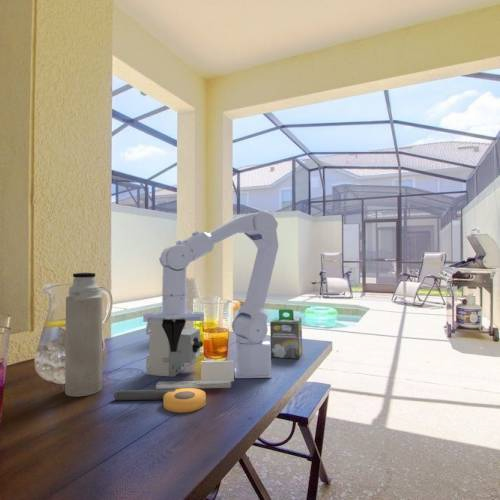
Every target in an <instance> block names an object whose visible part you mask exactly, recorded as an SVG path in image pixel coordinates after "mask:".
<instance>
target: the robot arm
mask: <svg viewBox="0 0 500 500" xmlns="http://www.w3.org/2000/svg"><path fill="white" fill-rule="evenodd" d="M278 225H279V224H278V221H277V220H276V218H275V216H274V214H273V213H271V212H270V211H269V210H260V211H258V212H252V213H246V214H244V215H241V216H238V217H235V218H233V219H231V220H229V221H227V222H226V223H224V224H222V225H220V226H219V227H216V228H215V229H213V230H212V231H210V232H205V231H199V230H197V231H193V232H192V233H191V236H189V237H187V238H186V239H183V240H177V241H175V245H173V246H168V247H167V246H166V247H165V248H164V249H163V250H162V252H161V254H160V257H159V263H160V265H161V266H162V286H161V288H162V289H161V290H162V291H161V292H162V296H161V297H162V305H161V306H162V308H161V309H162V311H156V312H155V311H153V312H144V313H143V317H142V318H143V322H144V323H145V322H147V323H148V321H163V323H162V327H163V329H164V331H165V333H166V335H167V338H168V341H169V345H170V351H171V352H177V349H178V343H179V339H180V335H181V333H182V330H183V328H184V325H185V323H186V321H204V312H186V278H187V268H188V266H189V264H190V263H192V262H194V261H196V260H197V259H199V258H201V257H203V256H205V255H208V254H209V253H211V252H213V250H214V247H215V246H214V245H216V244H217V243H220V242H222V241H224V240H226V239H227V238H230V237H231V236H233V235H236V234H242V233H243V234H244V235H245V236H246V237H247V238H249V240H251V241H252V242H253V243H254V246H255V247H256V248H257V251H256V256H255V260H254V263H253V267H252V272H251V276H250V279H249V285H248V288H247V292H246V296H245V300H244V303H243V304H242V305H241V306H240V307H239V309H238V311H237V314H236V315H235V317H234V318H233V321H232V323H231V328H232V332H233V333H234V335H235V337H236V338H235V348H236V349H235V364H236V365H235V367H234V379H266V378H267V379H270V378H272V359H271V358H272V357H271V340H264V339H265V338H266V337H267V334H268V331H269V330H268V324H267V323H268V322H267V321H268V318H269V317H268V314H267V312H266V310H265V304H266V300H267V296H268V292H269V288H270V283H271V278H272V275H273V271H274V266H275V262H276V260H277V259H276V258H277V254H278V250H279V240H278V232H277V229H278ZM166 318H183V319H166Z"/></svg>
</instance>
